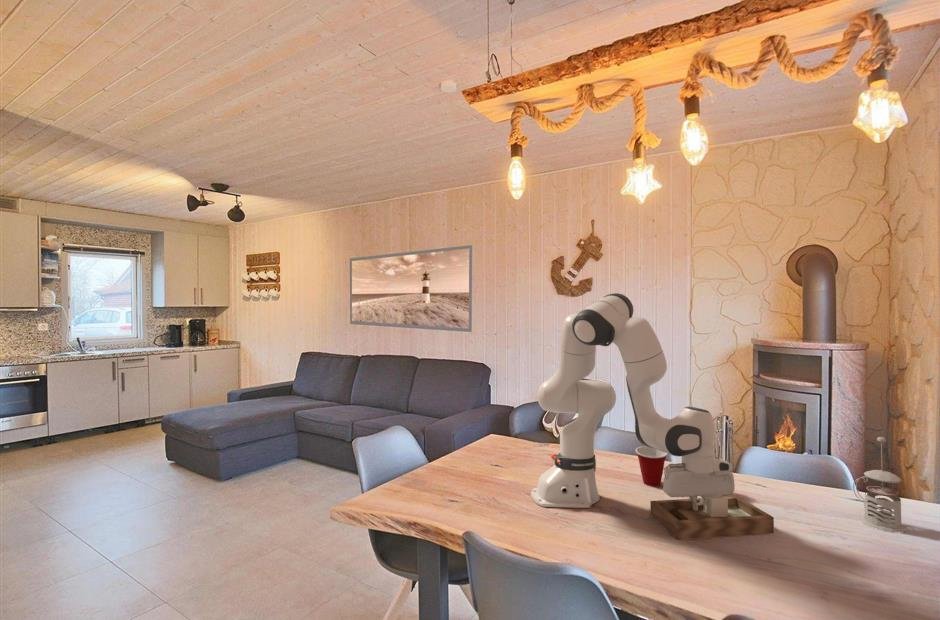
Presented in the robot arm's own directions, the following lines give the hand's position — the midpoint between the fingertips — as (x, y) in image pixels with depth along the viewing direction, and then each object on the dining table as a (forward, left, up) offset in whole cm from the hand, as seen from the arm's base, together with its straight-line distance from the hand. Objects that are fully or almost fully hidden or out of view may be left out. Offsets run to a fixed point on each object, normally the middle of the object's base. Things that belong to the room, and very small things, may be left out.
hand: (698, 510), depth 137 cm
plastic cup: (+1, +30, -4) cm, 31 cm away
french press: (+50, -8, -4) cm, 51 cm away
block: (+5, 0, -1) cm, 5 cm away
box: (+2, -2, -3) cm, 4 cm away
